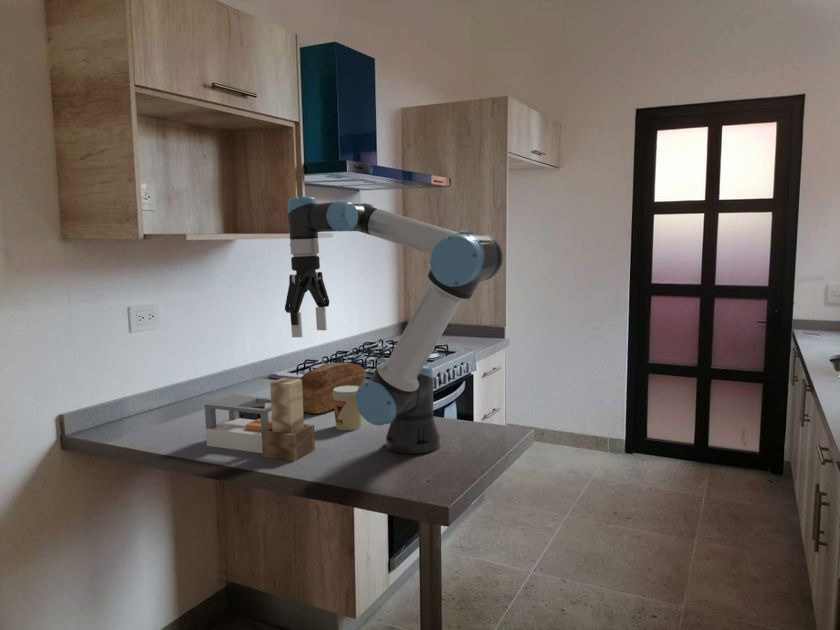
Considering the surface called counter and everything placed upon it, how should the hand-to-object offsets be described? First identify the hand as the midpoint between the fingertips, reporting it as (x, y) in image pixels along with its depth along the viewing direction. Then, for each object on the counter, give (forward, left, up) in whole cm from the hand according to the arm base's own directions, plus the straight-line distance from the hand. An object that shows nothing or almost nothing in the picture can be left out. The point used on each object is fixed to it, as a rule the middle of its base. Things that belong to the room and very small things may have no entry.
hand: (310, 333), depth 180 cm
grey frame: (+20, +3, -32) cm, 38 cm away
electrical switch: (+29, -10, -32) cm, 44 cm away
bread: (+19, -42, -32) cm, 56 cm away
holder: (+4, +7, -32) cm, 33 cm away
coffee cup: (+1, -21, -32) cm, 38 cm away
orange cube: (+15, +3, -32) cm, 35 cm away
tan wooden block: (+4, +7, -32) cm, 33 cm away
